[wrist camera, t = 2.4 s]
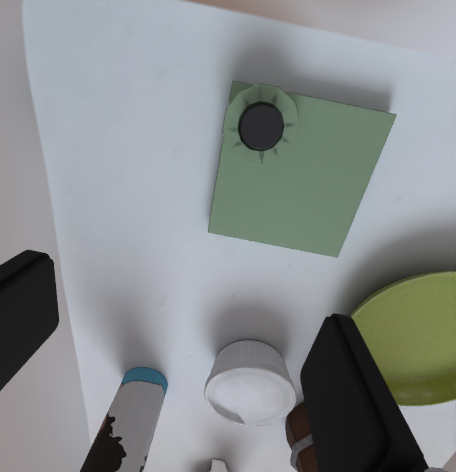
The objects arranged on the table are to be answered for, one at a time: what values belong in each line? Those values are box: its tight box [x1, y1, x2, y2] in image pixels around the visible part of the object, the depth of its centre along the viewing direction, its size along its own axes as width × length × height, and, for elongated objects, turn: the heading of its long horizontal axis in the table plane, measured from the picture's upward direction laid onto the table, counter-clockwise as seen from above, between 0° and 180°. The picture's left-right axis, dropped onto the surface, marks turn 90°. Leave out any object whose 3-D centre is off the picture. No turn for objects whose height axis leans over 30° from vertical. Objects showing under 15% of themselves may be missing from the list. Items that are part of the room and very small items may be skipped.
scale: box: [208, 81, 396, 257], centre depth 25 cm, size 14×14×3 cm
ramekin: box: [204, 340, 296, 426], centre depth 35 cm, size 11×11×5 cm
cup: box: [80, 367, 168, 472], centre depth 33 cm, size 7×7×15 cm
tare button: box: [241, 105, 283, 150], centre depth 21 cm, size 3×3×2 cm
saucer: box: [349, 271, 456, 406], centre depth 31 cm, size 21×21×3 cm
